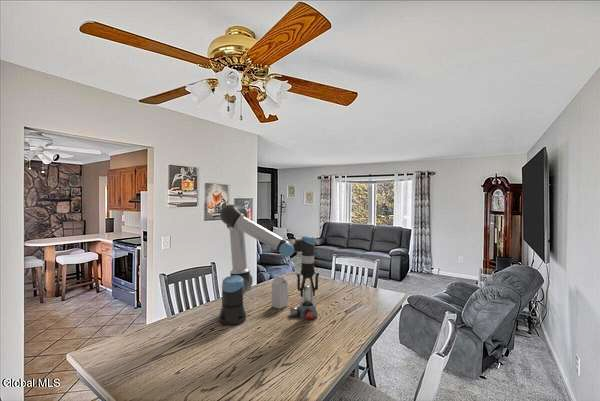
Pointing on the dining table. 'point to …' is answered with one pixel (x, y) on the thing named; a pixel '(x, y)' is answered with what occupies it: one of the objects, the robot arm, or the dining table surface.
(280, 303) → the milk carton
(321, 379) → the dining table surface
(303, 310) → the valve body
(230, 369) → the dining table surface
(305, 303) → the silver rounded cylinder
